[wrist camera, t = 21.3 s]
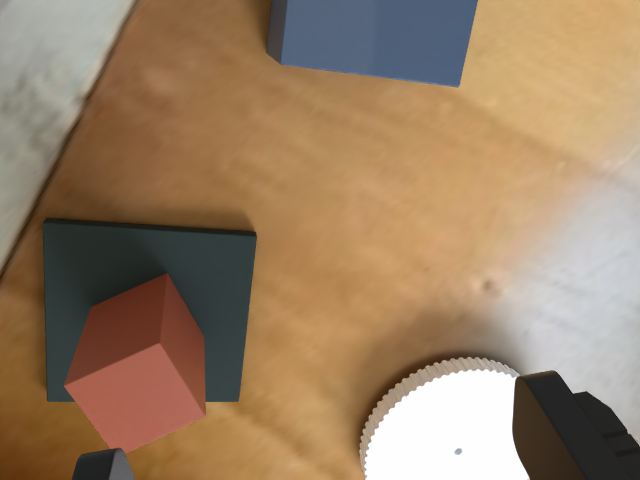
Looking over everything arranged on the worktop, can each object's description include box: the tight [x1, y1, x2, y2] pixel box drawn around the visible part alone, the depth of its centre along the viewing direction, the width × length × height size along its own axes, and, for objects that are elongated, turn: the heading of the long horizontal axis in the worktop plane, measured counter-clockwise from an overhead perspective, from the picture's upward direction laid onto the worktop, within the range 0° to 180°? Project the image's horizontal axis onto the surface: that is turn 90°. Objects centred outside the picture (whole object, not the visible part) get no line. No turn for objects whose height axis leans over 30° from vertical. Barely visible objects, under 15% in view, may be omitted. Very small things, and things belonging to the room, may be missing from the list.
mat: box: [43, 219, 257, 402], centre depth 37 cm, size 12×12×1 cm
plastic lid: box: [359, 357, 529, 480], centre depth 44 cm, size 14×14×2 cm
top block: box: [64, 273, 206, 453], centre depth 33 cm, size 5×5×8 cm
